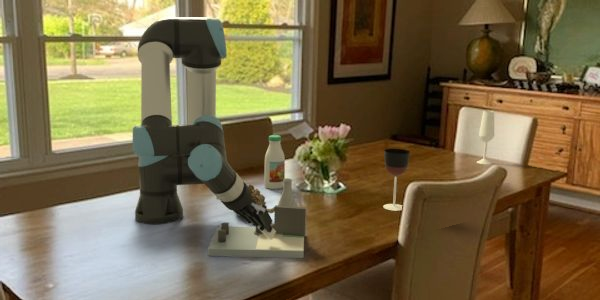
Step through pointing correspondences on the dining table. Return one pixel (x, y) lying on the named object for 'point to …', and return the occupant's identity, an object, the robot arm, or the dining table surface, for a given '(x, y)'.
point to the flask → (287, 194)
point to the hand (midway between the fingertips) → (271, 235)
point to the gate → (289, 220)
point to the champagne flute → (486, 132)
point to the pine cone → (259, 198)
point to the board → (254, 243)
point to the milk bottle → (274, 164)
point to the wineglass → (395, 169)
